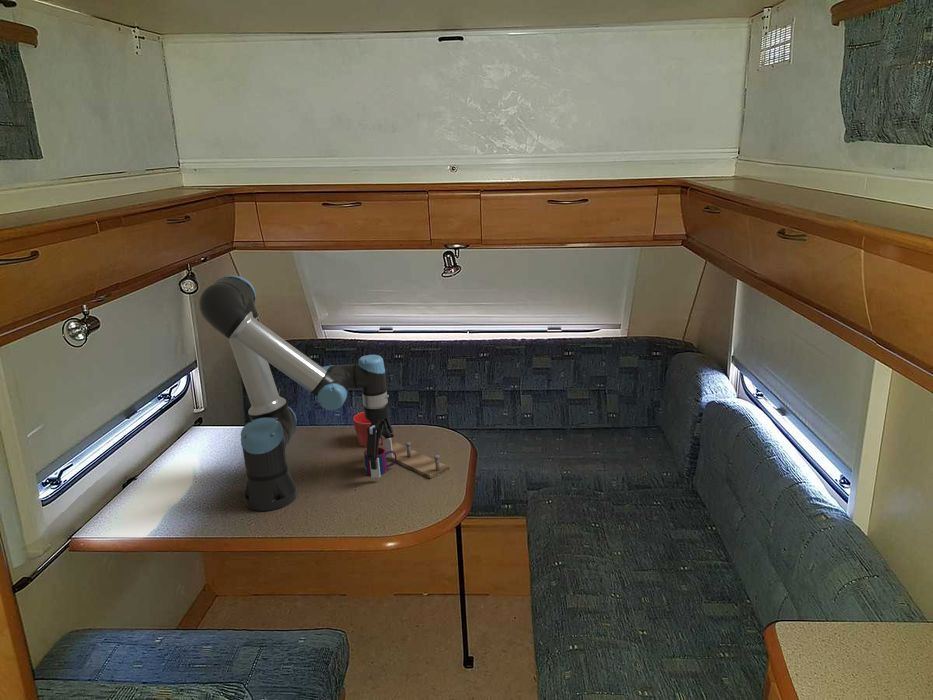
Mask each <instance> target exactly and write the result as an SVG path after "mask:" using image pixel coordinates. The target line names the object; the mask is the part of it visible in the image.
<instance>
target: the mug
mask: <svg viewBox="0 0 933 700" xmlns="http://www.w3.org/2000/svg"><path fill="white" fill-rule="evenodd" d="M389 453H394V455H395V460H394V461H392V462H391V463H389V464H388V462H387V458H386V455H387V454H389ZM363 456H364V457H363V458H364V467H365V474H366V475H368V476H370V477H371V469H370V460H366V456H367V449H366V450H365V449H364V452H363ZM377 458H379V466H380V475H381V476H382V475H385V474H386V473H387V471H388V468H390V467H392V466H393V465H395V463H396V459H397V456H396V453H395V452H394V451H388V452H385V449H384V448H381V447H379V448H378V456H377Z"/></svg>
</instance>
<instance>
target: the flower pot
mask: <svg viewBox="0 0 933 700" xmlns="http://www.w3.org/2000/svg"><path fill="white" fill-rule="evenodd" d="M352 421H353V425H354V428H355V429H354V430H355V433H356V437H357V439H358V444H359V445H360V446H362V447H365V448H367V436H368V434H367V428H368V427H370V424H371V421H369V420H367V419H366V418H365V414H364V411H362V412H359V413H357V414H355V415H354V416H353V417H352ZM379 444H381V438H380V440H379Z"/></svg>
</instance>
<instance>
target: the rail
mask: <svg viewBox="0 0 933 700" xmlns="http://www.w3.org/2000/svg"><path fill="white" fill-rule="evenodd" d="M383 438H385V437H383V436H381V443H380V444H379V447H381V448H383V440H382V439H383ZM391 442H392V451H394V452H395V453H396V456H397V459H396V462H395V463H396V464H398V465H400V466H402V467H404V468H406V469H408V470H411V471H412V470H413V472H415V473H417V474H419V475H420V476H423V475H424V476H423V477H425V478H427V477H428V478H427V479H429V478H430V479H429V480H432V479H433V478H432V477H434V478H436V477H438V476H439V475H438V474H440V475H442V474H444V473H446V472H445V471H446V470H449V469H450V466H449V465H447V464H444V463H443V462H440V457H441V455H439V454H435V455H433V458H434V459H433V458H432V457H429V456H427V455H424V454H423V453H421V452H418V451H416V450H414V449H411V445H412V442H410V441H407V442H405V445H403V444H400V443H398V442H397V441H394V440H392V439H391ZM386 459H389V460H390V461H392V462H394V460H395V455H394V453H393V457H392V458H388V457H386ZM449 471H450V470H449ZM443 472H444V473H443ZM441 473H442V474H441ZM437 475H438V476H437ZM435 476H436V477H435ZM431 478H432V479H431Z"/></svg>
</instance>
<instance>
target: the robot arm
mask: <svg viewBox="0 0 933 700" xmlns="http://www.w3.org/2000/svg"><path fill="white" fill-rule="evenodd" d="M200 294H201V295H200V297H199V301H198V307H199V312H200V314H201V316H202V317H203V318H204V320H205V321H206V322H207V323H208V324H209V325H210V326H211V327H212V328H213V329H214V330H216V331H217V332H219V333H220V334H221V335H223V337H226V338H227V339H228V342H229V345H230V348H231V350H232V353H233V356H234V359H235V362H236V366H237V368H238V370H239V374H240V377H241V379H242V382H243V385H244V388H245V391H246V394H247V397H248V400H249V402H250V405H251V406H250V407H249V409H248V411H247V412H248V416H249V419H250V422H247V423H246V424H245V425H244V426H243V428H242V429H241V431H240V444H241V448H242V454H243V459H244V465H245V472H246V483H245V487H244V492H243V493H244V494H243V500H244V505H245V507H246V508H247V509H250V510H252V511H257V512H267V511H274V510H278V509H281V508H284V507H286V506H288V505H289V504H291V503H293V501H295V500H296V498H297V497H298V489H297V488H298V487H297V484H296V483H295V481H294V479H293V477H292V475H291V473H290V471H289V468H288V460H287V452H286V451H287V448H288V446H289V444H290V442H291V440H292V438H293V436H294V434H295V433H296V430H297V421H298V420H297V415H296V413H295V412H294V410H293V409H292V408H291V407H290V406H288V402H287V400H286V398H284V397H282V396H280V393H279V391H278V389H277V385H276V382H275V379H274V377H273V373H272V370H271V368H270V365H272V366H273V367H275V368H276V369H277V370H279V371H280V372H281V373H283V374H284V375H285V376H287V377H289V378H290V379H291V380H293V381H294V382H296V383H297V384H298V385H300V386H301V387H303V388H304V389H305V390H307V391H308V392H310V393H311V394H312V395H314V396H315V397H316V398H317V401H318V404H319V406H321V407H322V408H323V409H324V410H327V411H336V410H339V409H340V408H342V407H343V405H344V403H345V402H346V400H347V398H348V393H349V390H358V389H361V394H362V405H363V412H364V414H365V418H366V419H367V420H369V421H371V424H370V427H368V428H367V434H368V436H367V447H366V450H367V456H366V460H370V469H371V476H370V477H371V479H380V478H381V476H382V475H380V466H379V458H377V456H378V448H379V440H380V438H381V436H383V437H384V438H383V439H382V440H383V448H384V449H385V452H388V451H392V442H391V440H392V438H394V436H395V435H394V430H393V427H392V424H391V422H390V419H389V416H390V409H389V403H388V402H389V400H388V398H389V397H390V396H389V394H388V391H387V389H388V388H387V378H386V368H385V363H384V359H383V357H382V356H380V355H379V354H368V355H363V356H361V357H360V358H358V362H357V363H355V364H354V363H353V364H338V365H334V364H331V365H326V366H321V365H319V364H318V363H317V362H316V361H314V360H313V359H311V358H310V357H308V355H306V354H304V353H303V352H302V351H300V350H299V349H297V348H296V347H294V346H293V345H292V344H291V343H289V342H287V341H286V340H285V339H284V338H282V337H281V336H279V335H278V334H277V333H275V332H274V331H273V330H271V329H270V328H269V327H267V325H264V324H263V323H261V321H259V320H258V319H259V314H258V311H257V308H256V305H255V302H256V290H255V288H254V286H253V284H252V283H251V282H250V281H249V280H247V279H246V278H244V277H243V276H240V275H226V276H224V277H220V278H218V279H217V280H216V281H215V282H214V283H212V284H211V285H209V286H207V287H206V288H205V289H203V291H202V293H200ZM386 457H388V458H392V457H393V453H389V454H387V455H386ZM388 458H387V459H388Z"/></svg>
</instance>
